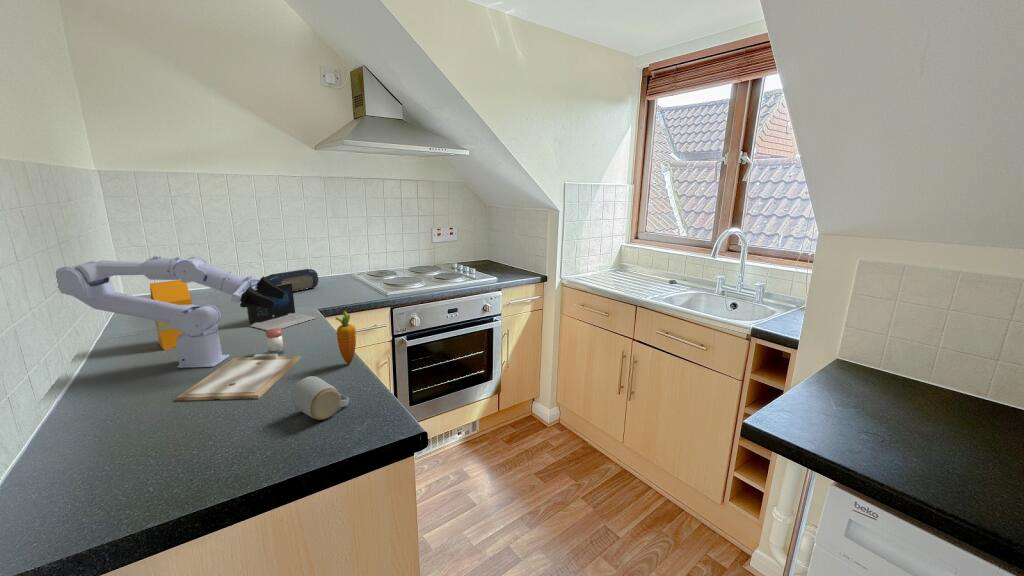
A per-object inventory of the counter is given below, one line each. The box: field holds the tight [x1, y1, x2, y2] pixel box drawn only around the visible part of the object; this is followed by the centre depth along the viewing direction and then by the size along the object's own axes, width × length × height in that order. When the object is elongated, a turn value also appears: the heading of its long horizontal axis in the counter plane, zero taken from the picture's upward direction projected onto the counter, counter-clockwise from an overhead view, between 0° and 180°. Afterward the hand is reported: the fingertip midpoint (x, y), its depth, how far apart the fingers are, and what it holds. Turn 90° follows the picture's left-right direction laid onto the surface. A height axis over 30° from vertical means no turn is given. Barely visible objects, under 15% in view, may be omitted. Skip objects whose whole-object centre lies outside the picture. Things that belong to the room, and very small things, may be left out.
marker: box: [265, 328, 285, 356], centre depth 125 cm, size 4×4×7 cm
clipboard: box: [176, 353, 302, 402], centre depth 109 cm, size 18×24×2 cm
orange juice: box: [149, 279, 193, 351], centre depth 131 cm, size 8×9×20 cm
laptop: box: [246, 283, 317, 332], centre depth 153 cm, size 18×12×13 cm
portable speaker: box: [265, 268, 319, 291], centre depth 201 cm, size 25×10×10 cm, turn 147°
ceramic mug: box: [290, 375, 350, 421], centre depth 92 cm, size 11×8×8 cm
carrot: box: [335, 311, 357, 365], centre depth 116 cm, size 5×5×15 cm
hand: (278, 300), depth 119 cm, fingers open, 7 cm apart
